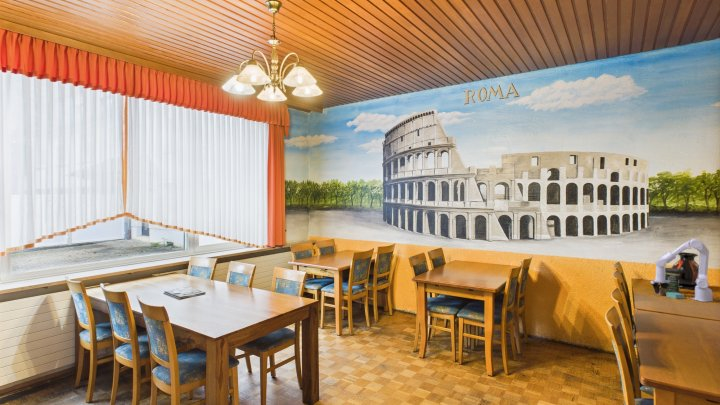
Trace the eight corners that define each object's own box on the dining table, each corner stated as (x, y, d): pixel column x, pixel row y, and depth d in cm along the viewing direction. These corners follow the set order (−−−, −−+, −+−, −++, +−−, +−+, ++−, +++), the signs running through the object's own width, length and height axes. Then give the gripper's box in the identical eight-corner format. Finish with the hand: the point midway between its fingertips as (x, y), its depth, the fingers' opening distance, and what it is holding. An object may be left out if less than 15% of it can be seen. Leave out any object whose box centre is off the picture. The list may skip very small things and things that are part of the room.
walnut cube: (659, 293, 286) (659, 287, 285) (665, 295, 281) (666, 288, 281) (653, 293, 285) (654, 287, 285) (660, 295, 280) (660, 289, 280)
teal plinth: (674, 295, 280) (674, 291, 279) (683, 298, 273) (683, 294, 273) (666, 296, 278) (666, 292, 278) (675, 298, 271) (675, 294, 271)
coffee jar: (662, 291, 292) (663, 268, 291) (663, 289, 298) (664, 266, 297) (679, 294, 285) (680, 269, 285) (679, 292, 291) (680, 268, 291)
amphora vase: (672, 283, 321) (673, 250, 320) (706, 288, 304) (707, 253, 303) (666, 286, 307) (667, 253, 306) (701, 292, 290) (702, 256, 290)
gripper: (663, 273, 287) (663, 291, 288) (647, 274, 285) (646, 291, 285) (672, 275, 281) (672, 293, 281) (656, 276, 278) (655, 294, 279)
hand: (659, 292), depth 283 cm, fingers closed on walnut cube, 5 cm apart
